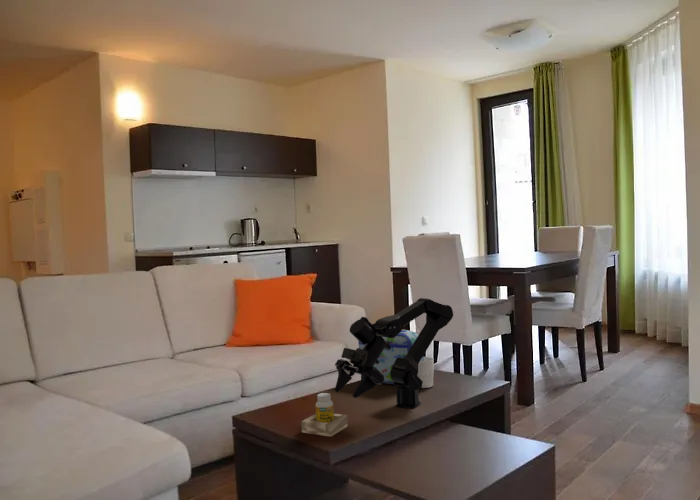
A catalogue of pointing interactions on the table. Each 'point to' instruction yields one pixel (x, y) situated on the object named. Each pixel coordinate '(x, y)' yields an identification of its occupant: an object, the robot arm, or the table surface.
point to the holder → (324, 425)
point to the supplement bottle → (324, 408)
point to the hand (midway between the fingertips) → (344, 394)
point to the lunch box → (394, 352)
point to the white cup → (426, 372)
